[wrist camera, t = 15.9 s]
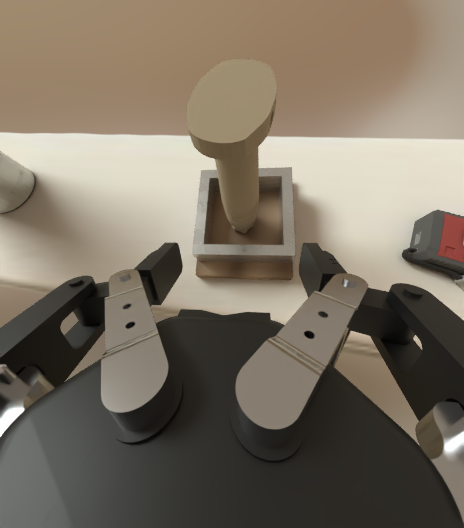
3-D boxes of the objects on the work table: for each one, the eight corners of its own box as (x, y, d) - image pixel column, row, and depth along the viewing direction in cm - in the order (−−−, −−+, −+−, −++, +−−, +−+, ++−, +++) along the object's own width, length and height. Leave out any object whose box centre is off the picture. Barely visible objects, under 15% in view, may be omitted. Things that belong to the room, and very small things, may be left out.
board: (198, 277, 25) (195, 274, 24) (207, 182, 29) (205, 175, 28) (290, 279, 24) (292, 277, 22) (286, 180, 28) (288, 172, 26)
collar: (199, 261, 24) (192, 254, 21) (206, 185, 27) (201, 170, 24) (289, 263, 23) (295, 255, 20) (287, 183, 26) (291, 167, 23)
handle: (266, 206, 25) (287, 62, 11) (253, 249, 24) (256, 149, 9) (232, 199, 26) (210, 56, 12) (217, 240, 25) (171, 135, 10)
